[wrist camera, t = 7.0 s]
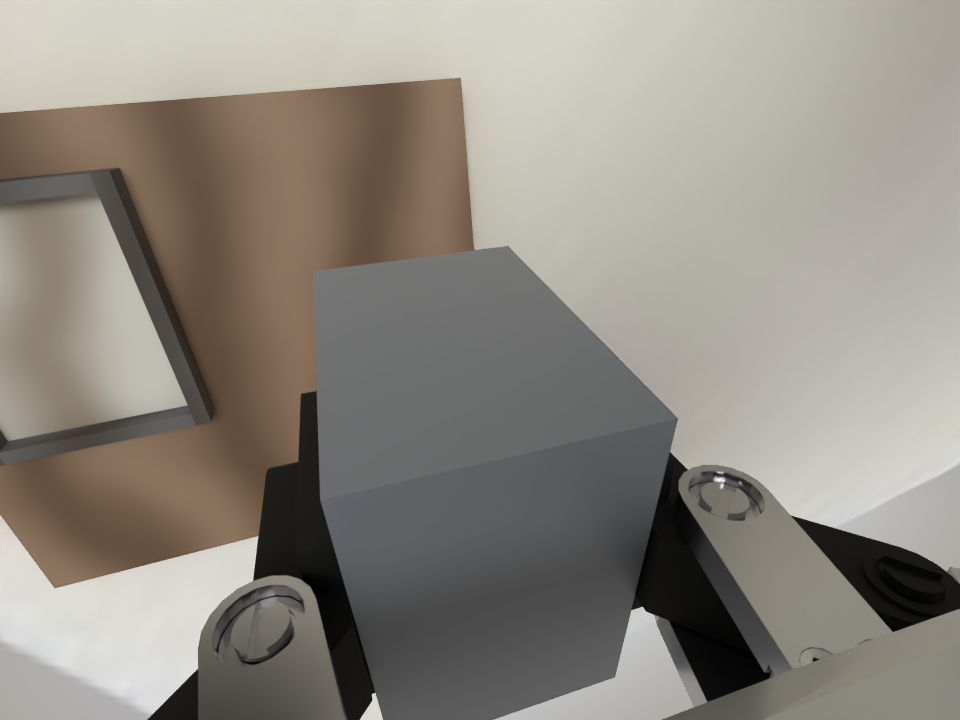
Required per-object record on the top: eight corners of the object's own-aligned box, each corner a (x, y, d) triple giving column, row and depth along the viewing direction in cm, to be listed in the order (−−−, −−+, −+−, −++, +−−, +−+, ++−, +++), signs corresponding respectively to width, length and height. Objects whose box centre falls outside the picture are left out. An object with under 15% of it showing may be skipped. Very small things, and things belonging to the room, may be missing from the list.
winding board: (451, 78, 20) (552, 69, 12) (483, 459, 30) (550, 605, 22) (-234, 131, 16) (-892, 179, 7) (67, 563, 25) (-57, 802, 17)
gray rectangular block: (508, 246, 11) (677, 418, 6) (506, 454, 14) (614, 676, 9) (312, 270, 10) (319, 499, 5) (360, 488, 13) (393, 754, 8)
